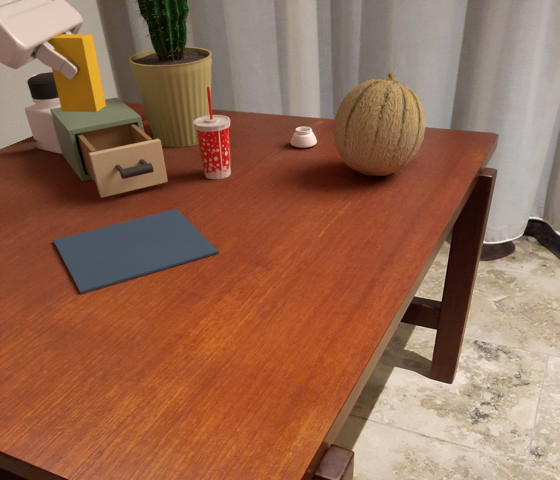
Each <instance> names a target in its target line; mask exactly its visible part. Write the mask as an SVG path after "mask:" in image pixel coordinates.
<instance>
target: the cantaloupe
mask: <svg viewBox="0 0 560 480" xmlns="http://www.w3.org/2000/svg"><path fill="white" fill-rule="evenodd" d="M395 77H396V76H395V75H394V74H393V73H392V72H388V74H387V79H382V78H373V79H368V80H365V81H362V82H360V83H359V84H357V85H356V86H354V87H352V89H351V90H350V91H349V92H348V93H347V94H346V95H345V96H344V97H343V99H342V101H341V103H340V105H339V107H338V109H337V111H336V114H335V117H334V122H333V139H334V145H335V148H336V150H337V153H338V155H339V157H340V158H341V160H342V161H343V163H344V164H345V165H346V166H347V167H348V168H350V169H351V170H353V171H356V172H358V173H360V174H363V175H365V176H367V177H368V176H369V177H371V176H376V177H386V176H389V175H392V174H395V173H398V172H399V171H400V170H402V169H403V168H405V167H406V166H407V165H409V164H410V163H411V162H412V160H414V159H415V157H416V156H417V154H418V152H419V151H420V149H421V146H422V143H423V142H424V138H425V133H426V115H425V110H424V107H423V103H422V101H421V99H420V98H419V96H418V95H417V94H416V92H414V91H413V90H412V88H410V87H408V86H406V85H405V84H403V83H400V82H398V81H397V80H396V78H395Z"/></svg>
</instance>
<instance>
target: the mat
mask: <svg viewBox="0 0 560 480" xmlns="http://www.w3.org/2000/svg"><path fill="white" fill-rule="evenodd" d="M53 243H54V246H55V248H56V249H57V251H58V253H59V255H60V257H61V259H62V261H63V263H64V265H65V267H66V268H67V270H68V272H69V274H70V276H71V279H72V280H73V282H74V284H75V286H76V288H77V290H78V291H79V293H80V294H81V295H82V294H86V293H90V292H93V291H96V290H101V289H103V288H107V287H110V286H113V285H116V284H121V283H124V282H126V281H131V280H133V279H138V278H141V277H143V276H146V275H150V274H154V273H158V272H161V271H164V270H167V269H171V268H175V267H177V266H181V265H184V264H187V263H192V262H195V261H198V260H201V259H204V258H209V257H211V256H215V255H218V254H220V251H219V250H218V249H217V247H215V246H214V245H213V244H212V243H211V242H210V240H208V239H207V237H206V236H204V235H203V233H202V232H200V230H198V228H197V227H196V226H195V225H194V224H193V223H192V222H191V221H189V219H187V218H186V217H185V215H183V213H182V212H181V211H180V210H179V209H177V208H174V209H170V210H166V211H162V212H158V213H154V214H150V215H147V216H142V217H139V218H135V219H130V220H127V221H122V222H119V223H115V224H111V225H108V226H103V227H100V228H95V229H92V230H88V231H84V232H80V233H77V234H72V235H69V236H64V237H61V238H57V239H53Z"/></svg>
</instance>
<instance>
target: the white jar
mask: <svg viewBox="0 0 560 480" xmlns="http://www.w3.org/2000/svg"><path fill="white" fill-rule="evenodd" d="M289 142H290V143H289V144H290V145H291V146H292V147H295V148H299V149H307V148H311V147H314V146H315V145H317V143H318V140H317V137H316V135H315V133H314V132H313V129H312V128H311V127H310V126H298V127H296V128H295V129H294V132H293V134H292V137H291V140H290V141H289Z"/></svg>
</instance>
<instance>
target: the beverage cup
mask: <svg viewBox="0 0 560 480" xmlns="http://www.w3.org/2000/svg"><path fill="white" fill-rule="evenodd" d="M207 96H208V104H209V113H210V115H209V116H203V117H199V118H197V119H195V120H194V121H193V123H194V128H195V129H196V132H197V137H198V142H199V144H198V146H199V153H200V157H201V163H202V168H203V174H204V177H205V178H207V179H208V180H209V179H210V180H223V179H226V178H229V177H230V176H231V174H232V172H231V171H232V169H231V168H232V167H231V142H230V141H231V139H230V126H231V119H230V117H229V116H227V115H222V114H214V113H213V107H212V95H211V96H210V87H207Z"/></svg>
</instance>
